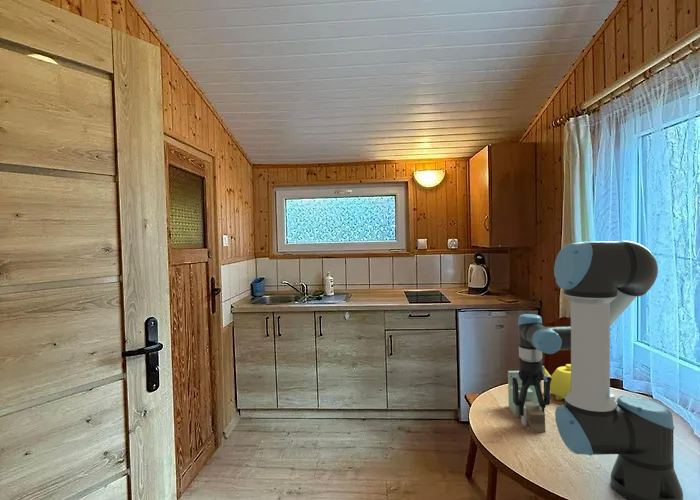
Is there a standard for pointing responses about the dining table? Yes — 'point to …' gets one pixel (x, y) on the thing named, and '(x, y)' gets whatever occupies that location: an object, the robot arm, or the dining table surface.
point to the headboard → (530, 392)
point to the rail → (534, 417)
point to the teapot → (560, 381)
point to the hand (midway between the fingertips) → (531, 424)
